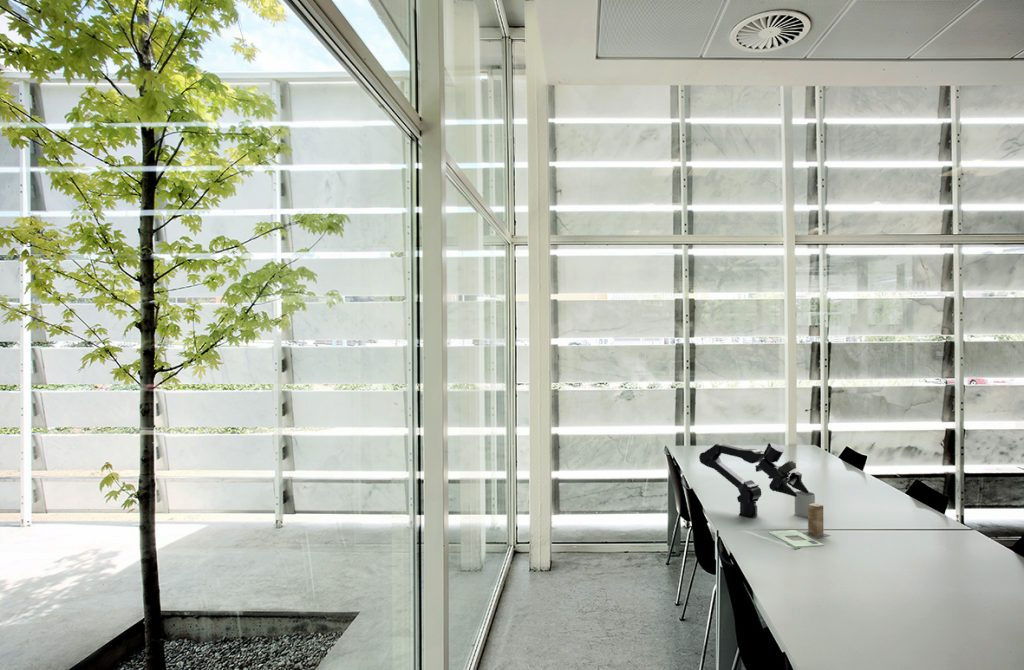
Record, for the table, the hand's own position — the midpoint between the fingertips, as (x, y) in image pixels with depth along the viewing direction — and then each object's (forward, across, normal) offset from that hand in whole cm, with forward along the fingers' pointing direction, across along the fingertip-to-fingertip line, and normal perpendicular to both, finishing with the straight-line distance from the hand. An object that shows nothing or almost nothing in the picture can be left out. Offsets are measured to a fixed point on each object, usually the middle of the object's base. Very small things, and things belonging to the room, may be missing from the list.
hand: (802, 494), depth 255 cm
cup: (-1, +20, +18) cm, 27 cm away
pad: (+14, -4, +9) cm, 17 cm away
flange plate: (+12, -16, +10) cm, 22 cm away
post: (+14, -4, +8) cm, 17 cm away
